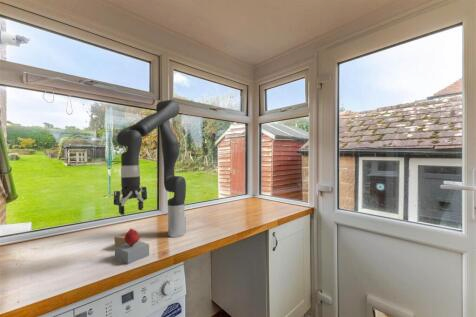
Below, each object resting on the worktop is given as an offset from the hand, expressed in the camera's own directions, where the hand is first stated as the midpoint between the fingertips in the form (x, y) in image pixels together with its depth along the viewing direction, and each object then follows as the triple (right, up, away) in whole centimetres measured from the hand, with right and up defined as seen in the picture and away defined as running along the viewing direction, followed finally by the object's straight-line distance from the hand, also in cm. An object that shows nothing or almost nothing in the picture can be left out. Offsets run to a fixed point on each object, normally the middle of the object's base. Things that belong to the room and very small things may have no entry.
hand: (131, 212), depth 99 cm
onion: (0, -15, 0) cm, 15 cm away
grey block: (0, -20, 0) cm, 20 cm away
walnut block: (-8, -20, +11) cm, 24 cm away
